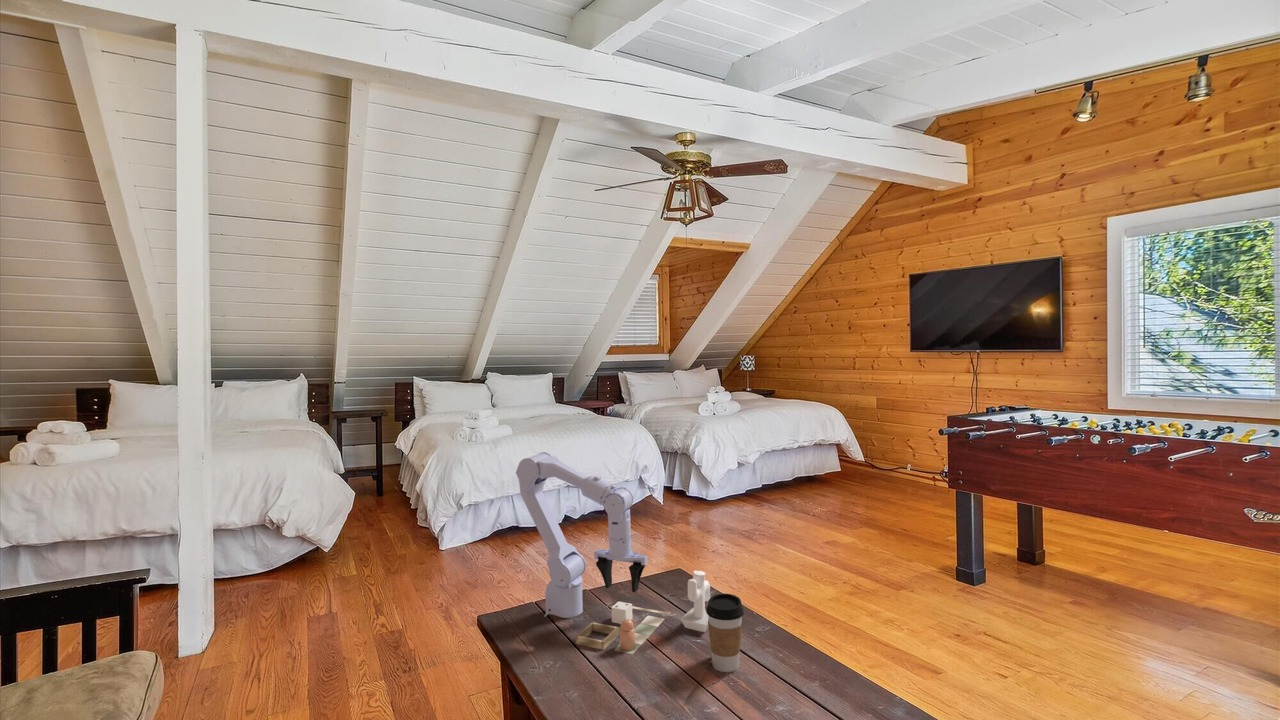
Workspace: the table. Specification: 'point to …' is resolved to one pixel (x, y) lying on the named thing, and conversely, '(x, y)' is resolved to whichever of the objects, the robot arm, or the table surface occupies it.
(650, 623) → the game board
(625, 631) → the pawn
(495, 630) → the table surface
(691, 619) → the figurine
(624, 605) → the die
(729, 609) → the coffee cup
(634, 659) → the table surface
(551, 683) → the table surface
